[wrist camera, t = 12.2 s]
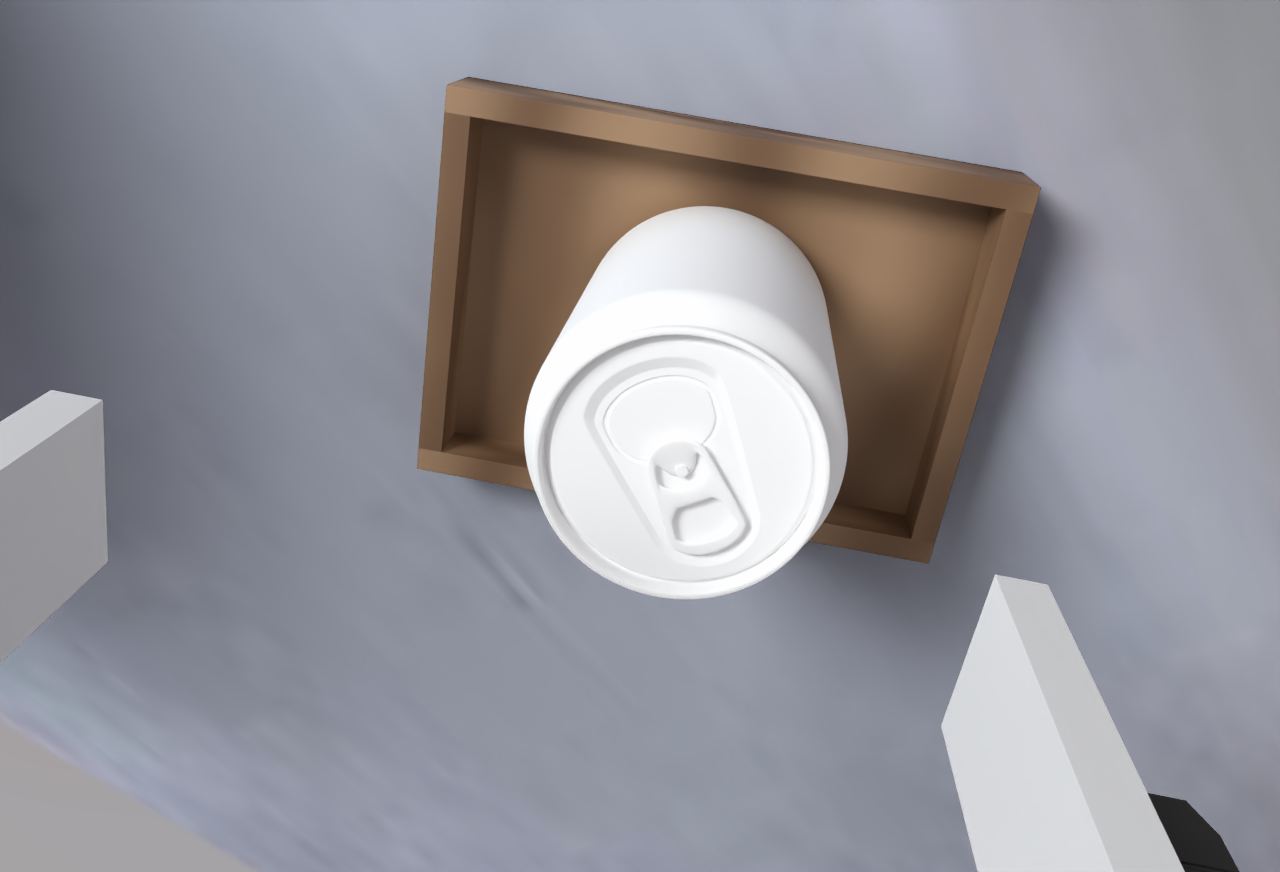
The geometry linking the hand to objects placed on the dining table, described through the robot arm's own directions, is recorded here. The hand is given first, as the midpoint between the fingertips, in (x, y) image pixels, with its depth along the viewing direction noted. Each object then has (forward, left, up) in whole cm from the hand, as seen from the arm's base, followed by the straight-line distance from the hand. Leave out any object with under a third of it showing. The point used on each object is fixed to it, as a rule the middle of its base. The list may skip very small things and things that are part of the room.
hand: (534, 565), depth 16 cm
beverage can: (+2, -3, -22) cm, 22 cm away
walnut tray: (+2, -3, -23) cm, 23 cm away
